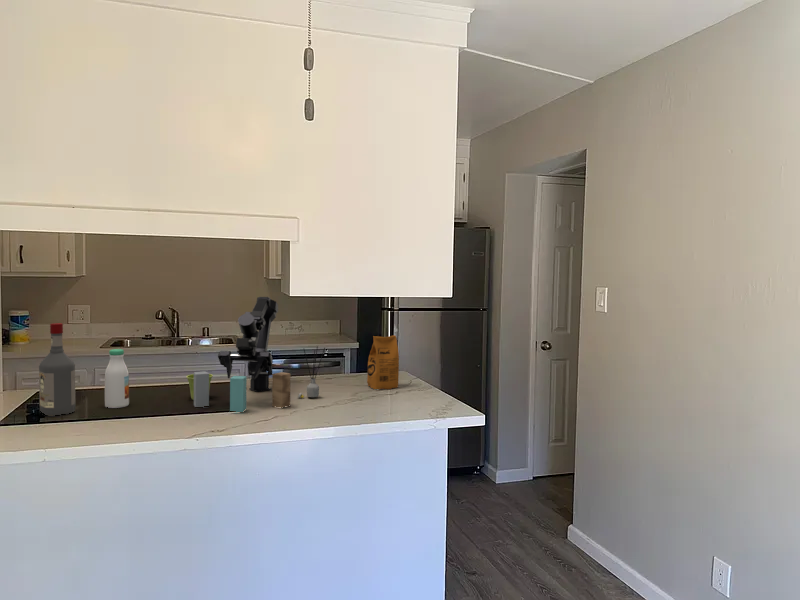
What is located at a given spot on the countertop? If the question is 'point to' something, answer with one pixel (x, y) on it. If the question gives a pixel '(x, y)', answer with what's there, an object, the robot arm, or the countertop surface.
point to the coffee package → (383, 363)
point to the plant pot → (191, 383)
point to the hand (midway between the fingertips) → (241, 377)
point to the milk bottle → (116, 381)
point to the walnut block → (281, 389)
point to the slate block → (201, 389)
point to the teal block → (238, 393)
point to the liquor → (57, 377)
